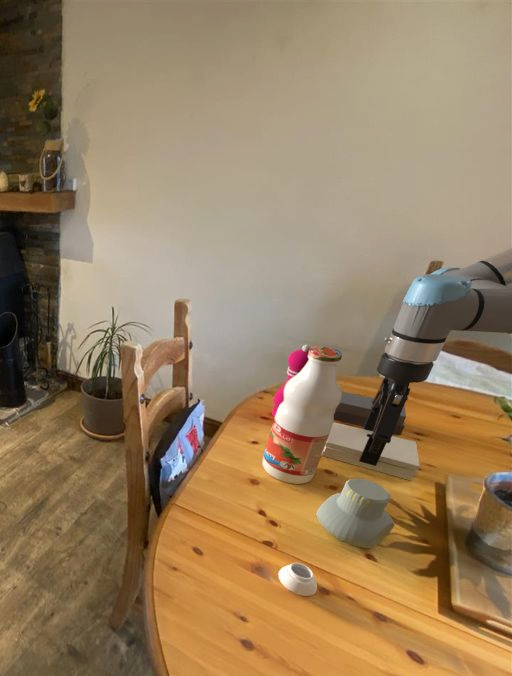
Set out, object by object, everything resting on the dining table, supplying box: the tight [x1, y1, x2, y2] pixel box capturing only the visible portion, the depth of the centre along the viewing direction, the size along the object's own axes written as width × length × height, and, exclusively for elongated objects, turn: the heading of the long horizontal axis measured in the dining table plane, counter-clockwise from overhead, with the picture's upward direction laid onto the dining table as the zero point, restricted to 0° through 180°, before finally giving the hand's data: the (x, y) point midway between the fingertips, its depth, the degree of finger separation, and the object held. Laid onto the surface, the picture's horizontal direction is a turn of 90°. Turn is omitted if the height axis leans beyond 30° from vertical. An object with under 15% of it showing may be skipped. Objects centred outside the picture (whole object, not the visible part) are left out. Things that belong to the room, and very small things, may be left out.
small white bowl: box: [278, 562, 318, 597], centre depth 65 cm, size 5×3×5 cm
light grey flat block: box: [321, 446, 418, 481], centre depth 91 cm, size 15×8×2 cm, turn 52°
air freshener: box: [315, 478, 395, 549], centre depth 72 cm, size 11×8×10 cm
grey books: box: [333, 391, 407, 436], centre depth 103 cm, size 13×7×5 cm, turn 52°
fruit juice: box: [261, 346, 343, 485], centre depth 83 cm, size 9×9×28 cm
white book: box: [325, 421, 420, 472], centre depth 90 cm, size 15×10×1 cm, turn 52°
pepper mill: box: [271, 344, 312, 418], centre depth 103 cm, size 7×7×20 cm
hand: (367, 449), depth 91 cm, fingers closed on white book, 10 cm apart
